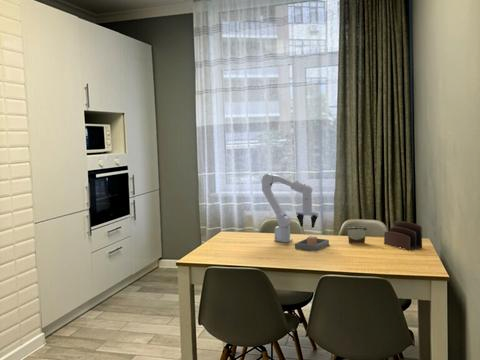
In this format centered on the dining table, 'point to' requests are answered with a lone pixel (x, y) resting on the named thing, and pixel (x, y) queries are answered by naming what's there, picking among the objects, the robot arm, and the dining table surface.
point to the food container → (356, 234)
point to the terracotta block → (312, 240)
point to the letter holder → (404, 235)
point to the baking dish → (304, 246)
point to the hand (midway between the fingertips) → (307, 226)
